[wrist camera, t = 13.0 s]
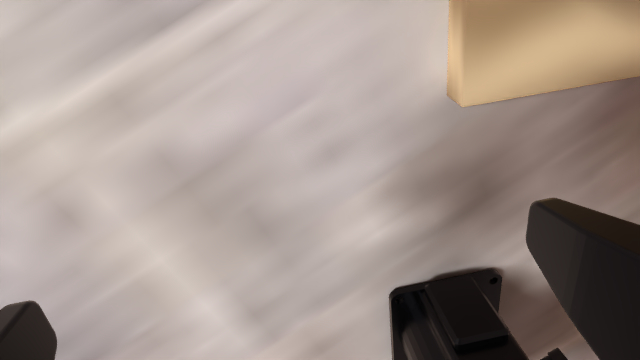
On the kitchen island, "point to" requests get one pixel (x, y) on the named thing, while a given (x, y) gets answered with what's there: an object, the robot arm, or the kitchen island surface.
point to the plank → (538, 46)
